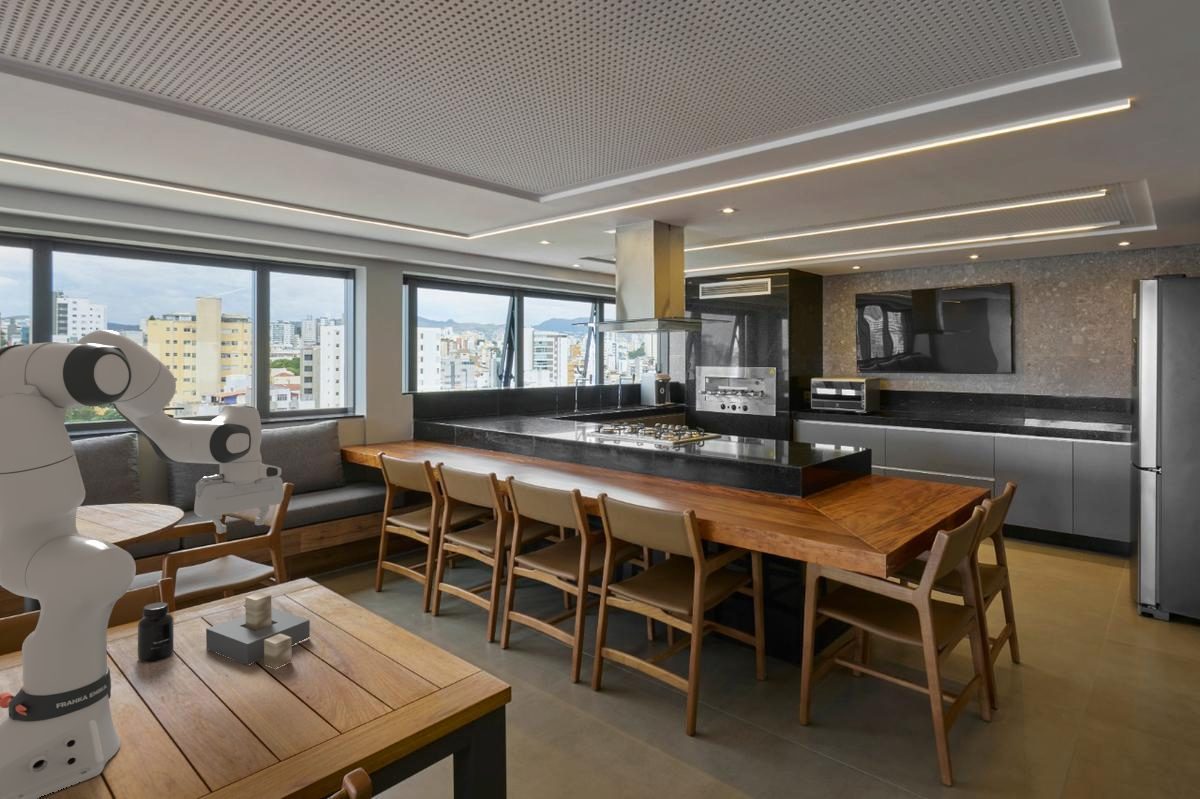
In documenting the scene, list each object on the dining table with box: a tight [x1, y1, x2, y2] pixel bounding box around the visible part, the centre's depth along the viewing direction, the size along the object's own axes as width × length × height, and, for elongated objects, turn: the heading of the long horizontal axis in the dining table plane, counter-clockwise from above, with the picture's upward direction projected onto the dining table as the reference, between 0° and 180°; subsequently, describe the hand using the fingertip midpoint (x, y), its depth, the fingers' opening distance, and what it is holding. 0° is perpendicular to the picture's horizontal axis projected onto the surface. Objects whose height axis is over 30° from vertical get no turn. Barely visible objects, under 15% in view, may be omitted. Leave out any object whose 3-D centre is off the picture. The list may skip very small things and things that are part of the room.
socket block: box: [205, 607, 311, 666], centre depth 156 cm, size 16×16×5 cm
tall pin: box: [244, 591, 272, 631], centre depth 155 cm, size 4×4×12 cm
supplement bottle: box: [137, 601, 175, 663], centre depth 148 cm, size 7×7×12 cm
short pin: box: [263, 634, 293, 669], centre depth 146 cm, size 4×4×6 cm
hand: (241, 528), depth 155 cm, fingers open, 8 cm apart
